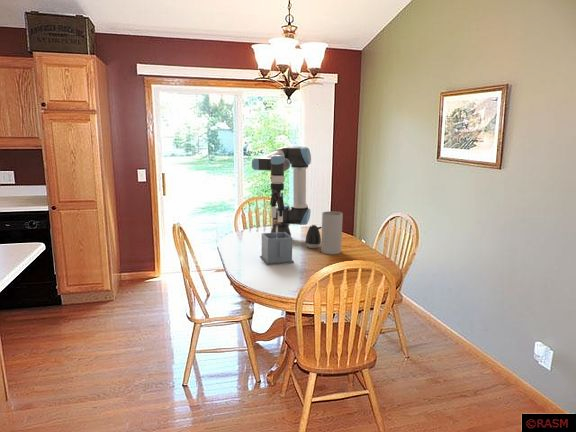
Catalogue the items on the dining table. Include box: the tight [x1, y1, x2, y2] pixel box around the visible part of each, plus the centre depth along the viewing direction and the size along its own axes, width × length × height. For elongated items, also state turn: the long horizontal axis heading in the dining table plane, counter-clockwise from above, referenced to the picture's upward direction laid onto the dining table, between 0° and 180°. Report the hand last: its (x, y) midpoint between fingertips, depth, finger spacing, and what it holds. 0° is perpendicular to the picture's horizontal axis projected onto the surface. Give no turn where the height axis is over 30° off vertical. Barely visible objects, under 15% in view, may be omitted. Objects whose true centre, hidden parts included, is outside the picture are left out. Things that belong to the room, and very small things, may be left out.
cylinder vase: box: [320, 210, 343, 256], centre depth 257 cm, size 12×12×25 cm
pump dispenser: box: [305, 224, 322, 249], centre depth 268 cm, size 10×10×15 cm
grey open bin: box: [259, 232, 294, 266], centre depth 240 cm, size 18×16×15 cm
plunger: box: [272, 219, 280, 238], centre depth 238 cm, size 12×12×13 cm
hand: (276, 219), depth 237 cm, fingers open, 13 cm apart
